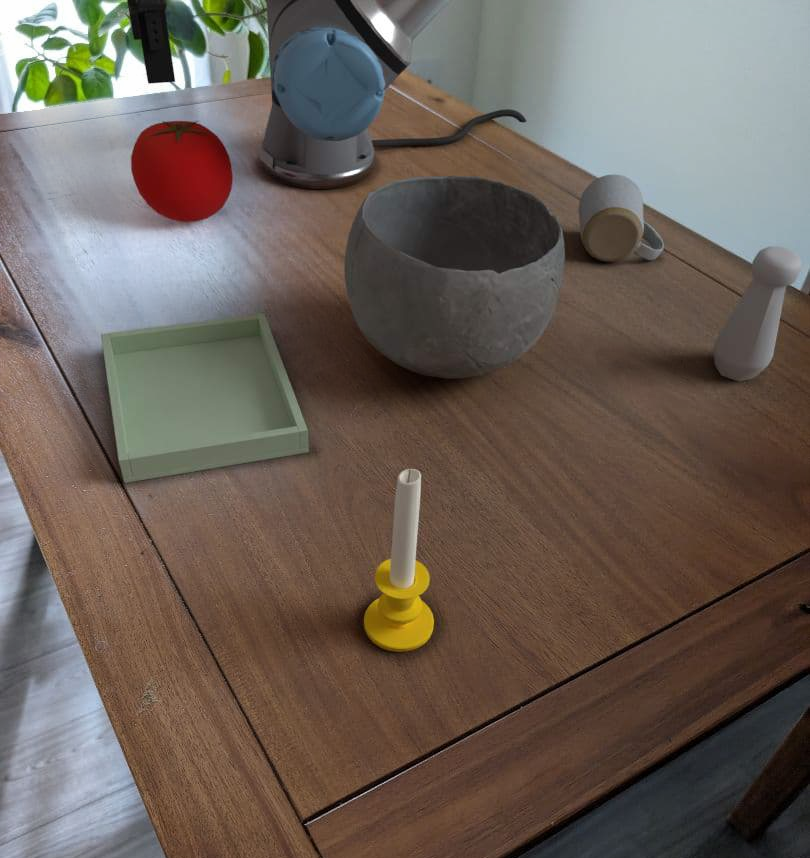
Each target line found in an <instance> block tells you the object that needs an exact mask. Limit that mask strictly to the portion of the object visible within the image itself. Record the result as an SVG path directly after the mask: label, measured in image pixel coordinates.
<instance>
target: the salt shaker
mask: <svg viewBox="0 0 810 858" xmlns="http://www.w3.org/2000/svg"><path fill="white" fill-rule="evenodd" d="M802 267H803V261H802V260H801V257H800V256H799V254H797V253H796V252H794V251H793V250H790V249H789V248H787V247H782V246H767V247H765V248H762V249H760V250H759V251H758V252H757V254H756V256H754V258H753V260H752V263H751V266H750V271H751V275H752V279H751V280H750V282H749V284H748V286H747V287H746V288H745V290H744V292H743V294H742V296H741V297H740V299H739V300H738V302H737V304H736V305H735V308H734V309H733V311H732V313H731V315H730V316H729V318H728V319H727V321H726V323H725V324H724V326H723V328H722V330H721V331H720V333H719V334H718V336H717V338H716V340H715V341H714V344H713V358H714V359H713V361H714V366H715V367H716V370H717V371H718V373H719V374H720V376H722V377H725V378H727V379H730V380H733V381H736V382H743V381H748V380H754V379H755V378H756V377H757V376H758V375H759V374H761V372H763V371H764V370H765V369H766V368H767V367H768V366H769V365H770V363H771V361H772V359H773V358H774V353H775V347H776V342H777V337H778V332H779V326H780V322H781V321H780V320H781V316H782V311H783V310H782V309H783V305H784V299H785V294H786V289H787V286H790V285H793V284H794V283H795V282H796V281H797V279H798V277H799V275H800V273H801V271H802Z"/></svg>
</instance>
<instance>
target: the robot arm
mask: <svg viewBox="0 0 810 858" xmlns="http://www.w3.org/2000/svg"><path fill="white" fill-rule="evenodd" d="M126 1H127V7H128V12H129V13H128V15H129V20H130V25H131V31H132V37H133V40H134V41H137V40H140V42H141V49H142V56H143V62H144V67H145V73H146V80H147V83H148V85H149V84H163V83H176V77H175V70H174V63H173V62H174V61H173V56H172V50H171V42H170V36H169V35H170V34H169V29H168V28H169V27H168V21H167V14H166V10H167V5H168V3H167V0H126ZM451 1H452V0H265V3H266V19H267V20H266V21H267V38H268V57H269V58H268V59H269V74H270V88H271V107H270V111H269V115H268V119H267V124H266V128H265V131H264V136H263V140H262V144H261V146H260V147H259V160H261V166H262V169H263V170H264V172H265V173H266V174H267V175H268V176H269V177H271V178H273V179H274V180H276V181H278V182H281V183H283V184H286V185H290V186H292V187H293V186H294V187H297V188H303V189H312V190H313V189H316V190H326V189H327V190H328V189H338V188H344V187H349V186H352V185H356V184H358V183H360V182H362V181H364V180H366V179H367V178H368V177H370V176H371V174H372V173H373V172H374V170H375V159H376V158H375V157H376V156H375V155H376V153H375V151H376V150H375V148H393V147H396V148H397V147H427V146H428V147H429V146H443V145H448V144H452V143H456V142H458V141H460V140H462V139H463V138H465V137H466V136H467V135H468V134H469V132H470V131H471V129H472V128H473V127H474V126H476V125H479V124H482V123H484V122H488V121H491V120H494V119H499V118H503V117H511V118H514V119H516V120H517V121H518V122H519V123H526V122H527V119H526V118H525V116H524V115H523V114H522V113H521V112H519V111H518V110H515V109H508V108H507V109H498V110H494V111H492V112H489V113H485V114H482V115H479V116H476V117H473V118H472V119H470V120H468V121H467V122H466V123H465V125H464V126H463V128H462V129H461V130H460V131H459V132H457V133H455V134H451V135H447V136H441V137H427V138H424V137H423V138H422V137H421V138H420V137H419V138H391V139H389V138H388V139H372V137H371V134H370V130H369V127H370V126H371V125H372V124H373V123H374V121H375V120H376V118H377V117H378V115H379V113H380V111H381V109H382V105H383V103H384V98H385V95H386V90H387V89H388V87H389V86H391V85H392V83H393V82H395V80H396V79H398V77H400V75H401V74H402V73H403V72H404V71H405V70H406V69H407V68H408V67H409V66H410V64H412V46H413V43H414V39H416V37H417V36H418V35H419V34H420V33H421V32H422V31H423V30H424V29H425V28H426V27H427V26H428V25H429V24H430V23H431V22H432V20H434V19H435V17H436V16H438V14H439V13H441V11H442V10H443V9H444V8H446V6H447V5H448V4H449V3H450V2H451Z"/></svg>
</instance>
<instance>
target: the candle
mask: <svg viewBox="0 0 810 858" xmlns="http://www.w3.org/2000/svg"><path fill="white" fill-rule="evenodd" d="M421 488H422V473H421V472H420V471H419V470H418V469H416V468H406V469H404V470H402V471H401V472H399V474H398V476H397V480H396V490H395V496H394V506H393V507H394V509H393V522H392V523H393V524H392V539H391V552H390V553H391V554H390V558H388V559H386V560H384V561H382V562H381V563H380V564H379V565H377V566H378V567H377V568H376V570H375V572H374V583H375V585H376V587H377V588H378V590H379V591H380V592H381V595H380V596H379V597H377V598H376V599H375V600H373V601H372V602H371V603H370V604H369V605H368V607H367V608H366V609H365V612H364V617H363V627H364V631H365V634H366V636H367V637H368V639H369V640H370V641H371V642H372V643H373V644H375V645H376V646H378V647H379V648H381V649H383V650H386V651H389V652H394V653H405V652H410V651H413V650H417V649H419V648H421V647H422V646H424V645H425V644H426V643H427V642H428V641H429V640H430V639H431V637H432V634H433V632H434V624H435V619H434V614H433V612H432V610H431V608H430V606H428V605H427V604H426V602H424V601H423V600H422V599H421V597H420V595H423V594H424V593H425V592H426V591H427V589H428V587H429V586H430V580H431V577H430V572H429V570H428V568H427V567H426V566H425V565H424V564H423V563H422V562H420V561H418V560H417V559H416V558H417V545H418V532H419V520H420V519H419V518H420V517H419V516H420V508H421V507H420V506H421V505H420V504H421V493H422V491H421Z"/></svg>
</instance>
